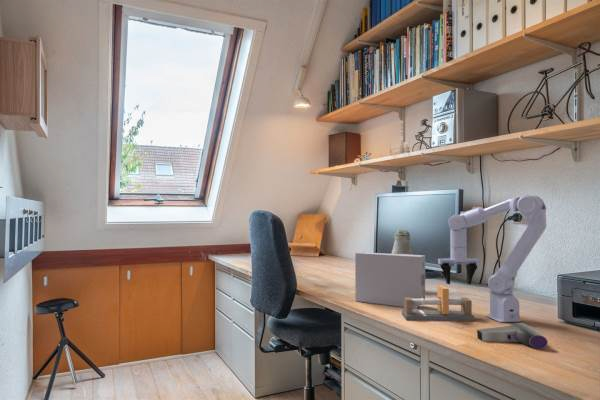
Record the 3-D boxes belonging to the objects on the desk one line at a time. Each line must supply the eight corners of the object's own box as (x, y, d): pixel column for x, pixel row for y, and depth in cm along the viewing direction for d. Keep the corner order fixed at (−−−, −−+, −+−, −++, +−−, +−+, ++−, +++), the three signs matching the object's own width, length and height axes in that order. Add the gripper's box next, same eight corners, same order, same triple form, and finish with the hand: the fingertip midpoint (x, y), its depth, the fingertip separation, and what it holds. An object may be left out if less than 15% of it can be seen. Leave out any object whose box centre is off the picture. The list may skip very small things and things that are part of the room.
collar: (443, 309, 154) (442, 285, 154) (448, 314, 147) (448, 288, 147) (437, 309, 154) (437, 285, 154) (442, 314, 147) (442, 288, 147)
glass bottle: (390, 291, 197) (389, 230, 198) (392, 287, 207) (392, 229, 208) (412, 293, 194) (411, 230, 195) (413, 289, 204) (413, 229, 204)
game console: (360, 298, 182) (360, 251, 183) (425, 306, 168) (425, 255, 169) (355, 301, 177) (355, 252, 178) (421, 309, 163) (421, 256, 164)
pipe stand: (466, 315, 154) (466, 296, 154) (474, 321, 146) (474, 301, 146) (401, 314, 155) (401, 295, 155) (406, 320, 147) (406, 300, 147)
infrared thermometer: (476, 341, 128) (525, 337, 128) (495, 355, 116) (550, 350, 116) (475, 325, 128) (524, 321, 129) (494, 337, 116) (549, 333, 116)
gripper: (473, 246, 164) (473, 282, 163) (435, 246, 164) (435, 281, 164) (481, 247, 157) (481, 285, 156) (441, 247, 157) (441, 285, 157)
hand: (458, 283), depth 160 cm, fingers open, 7 cm apart
